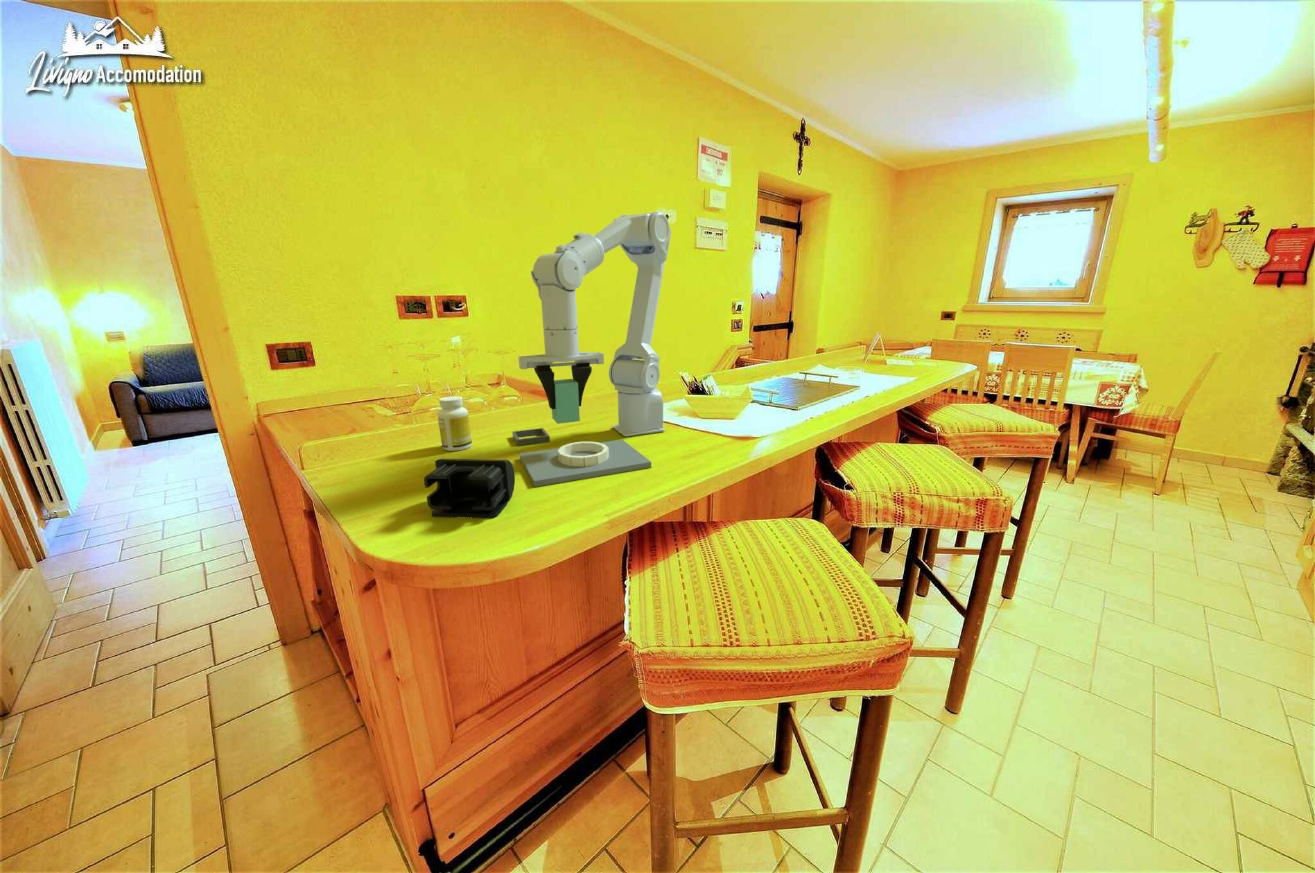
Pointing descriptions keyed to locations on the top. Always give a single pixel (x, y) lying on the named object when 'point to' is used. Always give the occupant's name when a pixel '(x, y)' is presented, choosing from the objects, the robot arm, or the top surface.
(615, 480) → the top surface
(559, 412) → the plug
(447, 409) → the supplement bottle
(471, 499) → the end cap
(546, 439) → the dark grey square frame
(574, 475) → the socket board
